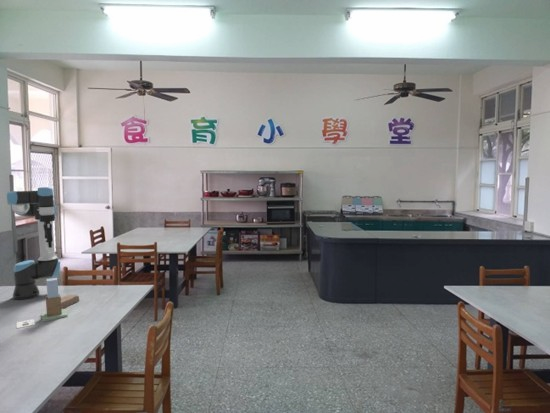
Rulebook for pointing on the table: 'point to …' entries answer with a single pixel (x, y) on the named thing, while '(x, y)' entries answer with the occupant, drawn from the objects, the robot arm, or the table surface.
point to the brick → (69, 300)
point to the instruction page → (25, 323)
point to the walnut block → (53, 306)
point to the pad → (46, 318)
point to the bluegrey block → (52, 288)
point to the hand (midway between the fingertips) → (49, 251)
